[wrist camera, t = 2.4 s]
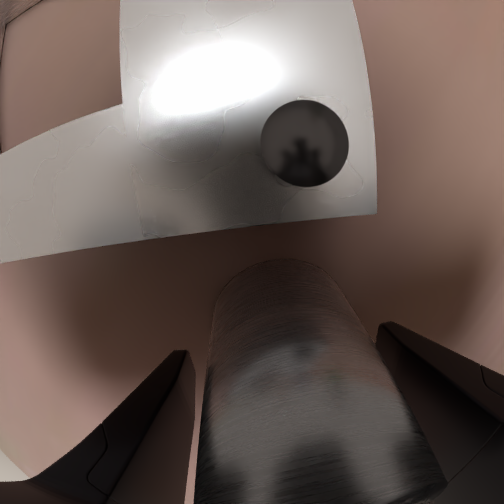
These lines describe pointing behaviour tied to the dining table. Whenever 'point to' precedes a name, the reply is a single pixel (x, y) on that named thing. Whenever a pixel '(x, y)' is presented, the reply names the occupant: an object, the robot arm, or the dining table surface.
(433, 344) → the robot arm
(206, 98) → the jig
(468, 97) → the dining table surface
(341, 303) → the cylinder
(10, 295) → the dining table surface
